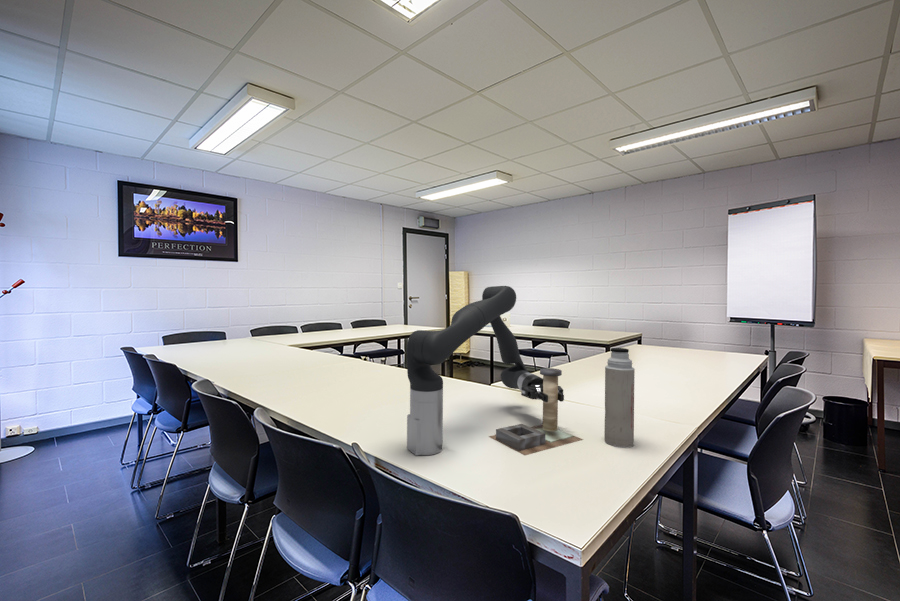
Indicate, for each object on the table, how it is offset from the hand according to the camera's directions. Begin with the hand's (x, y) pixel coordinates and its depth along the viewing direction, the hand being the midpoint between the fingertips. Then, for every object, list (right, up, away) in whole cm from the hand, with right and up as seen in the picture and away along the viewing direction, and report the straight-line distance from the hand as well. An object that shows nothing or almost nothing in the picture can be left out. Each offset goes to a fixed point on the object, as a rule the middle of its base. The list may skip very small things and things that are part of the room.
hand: (554, 398), depth 115 cm
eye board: (-6, -13, 0) cm, 14 cm away
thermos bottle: (+19, -13, -1) cm, 23 cm away
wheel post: (-1, -10, +3) cm, 10 cm away
